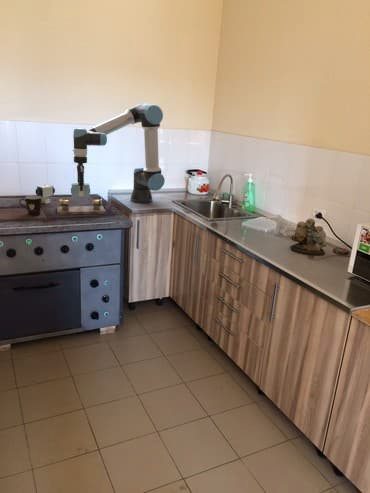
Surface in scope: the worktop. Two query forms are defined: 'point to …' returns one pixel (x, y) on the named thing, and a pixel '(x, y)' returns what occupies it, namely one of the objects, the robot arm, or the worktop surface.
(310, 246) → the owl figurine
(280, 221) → the toy dinosaur
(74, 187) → the coupling block
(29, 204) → the coffee mug
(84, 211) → the base board
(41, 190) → the pneumatic valve
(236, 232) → the worktop surface
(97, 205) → the pipe rig
